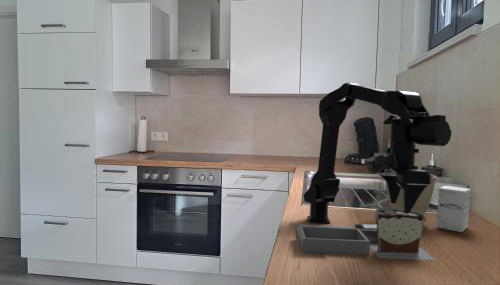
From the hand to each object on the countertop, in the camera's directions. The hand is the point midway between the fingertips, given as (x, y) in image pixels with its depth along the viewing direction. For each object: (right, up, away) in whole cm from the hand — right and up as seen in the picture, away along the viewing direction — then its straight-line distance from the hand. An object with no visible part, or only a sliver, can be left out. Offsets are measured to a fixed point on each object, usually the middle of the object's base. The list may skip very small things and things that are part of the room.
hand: (399, 207), depth 85 cm
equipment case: (-15, -10, +9) cm, 21 cm away
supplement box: (+26, -11, +23) cm, 37 cm away
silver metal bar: (-1, -10, +9) cm, 14 cm away
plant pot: (+15, -10, +28) cm, 33 cm away
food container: (-1, -11, +2) cm, 11 cm away
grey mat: (0, -11, +1) cm, 11 cm away
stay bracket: (-1, -11, +9) cm, 14 cm away
